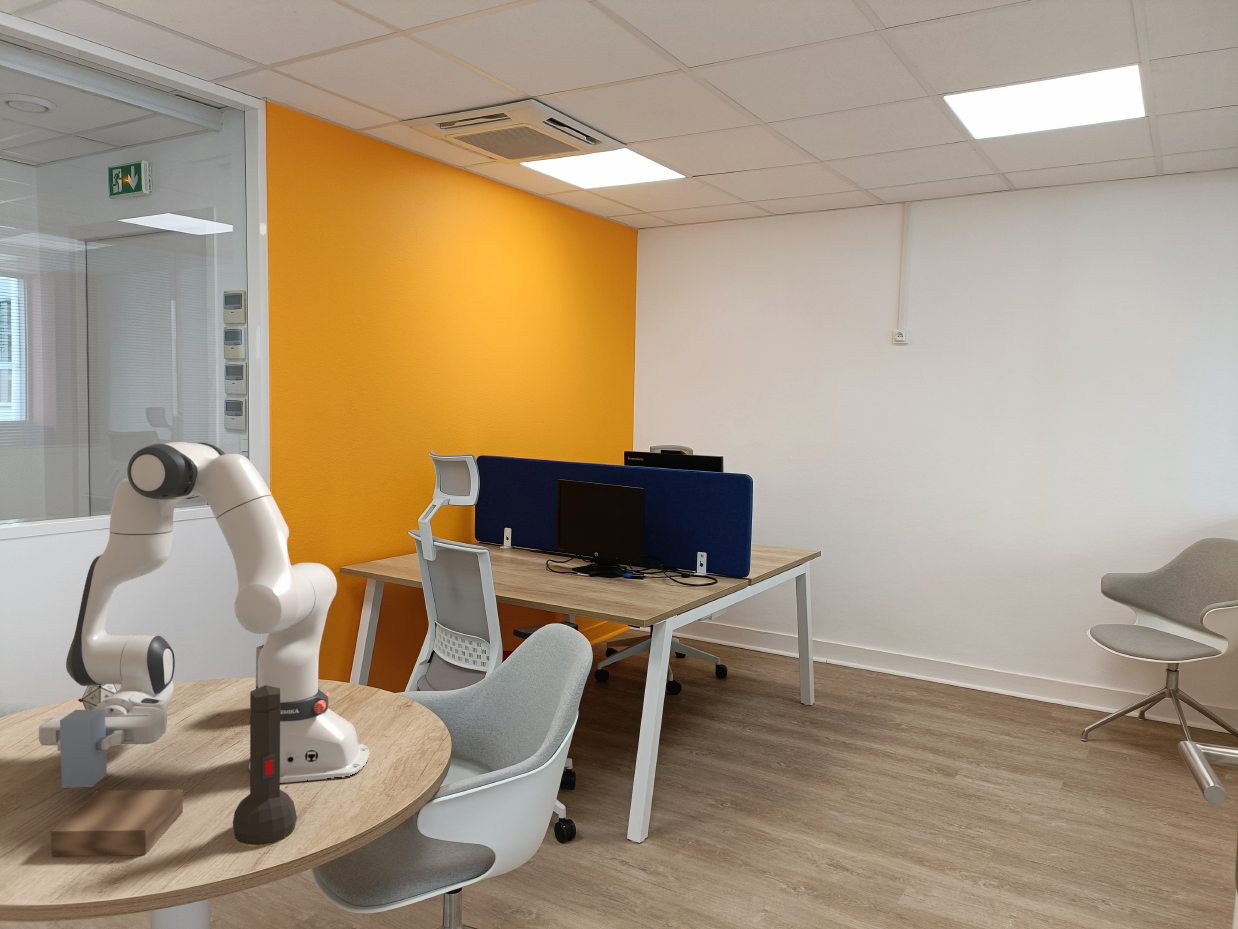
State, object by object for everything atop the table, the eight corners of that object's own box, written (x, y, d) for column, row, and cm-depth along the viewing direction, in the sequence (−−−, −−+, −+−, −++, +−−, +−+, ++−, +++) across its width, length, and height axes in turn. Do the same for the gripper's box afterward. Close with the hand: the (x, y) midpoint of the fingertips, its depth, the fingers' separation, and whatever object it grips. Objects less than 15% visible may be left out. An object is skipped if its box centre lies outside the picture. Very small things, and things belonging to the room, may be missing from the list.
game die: (105, 733, 190) (103, 707, 184) (69, 719, 190) (66, 692, 184) (132, 702, 197) (131, 676, 191) (97, 688, 197) (96, 662, 191)
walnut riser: (182, 812, 148) (182, 789, 148) (145, 854, 135) (145, 830, 134) (98, 813, 147) (97, 790, 147) (51, 856, 133) (51, 831, 133)
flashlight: (226, 826, 144) (240, 853, 136) (226, 681, 142) (240, 699, 134) (287, 811, 150) (303, 836, 142) (288, 672, 148) (304, 688, 140)
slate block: (106, 774, 154) (105, 709, 153) (92, 787, 149) (90, 720, 148) (77, 774, 154) (75, 709, 153) (61, 787, 149) (59, 720, 148)
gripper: (62, 701, 163) (17, 729, 149) (174, 700, 164) (140, 728, 151) (62, 734, 163) (18, 764, 149) (174, 732, 165) (141, 762, 151)
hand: (81, 746), depth 150 cm, fingers closed on slate block, 5 cm apart
